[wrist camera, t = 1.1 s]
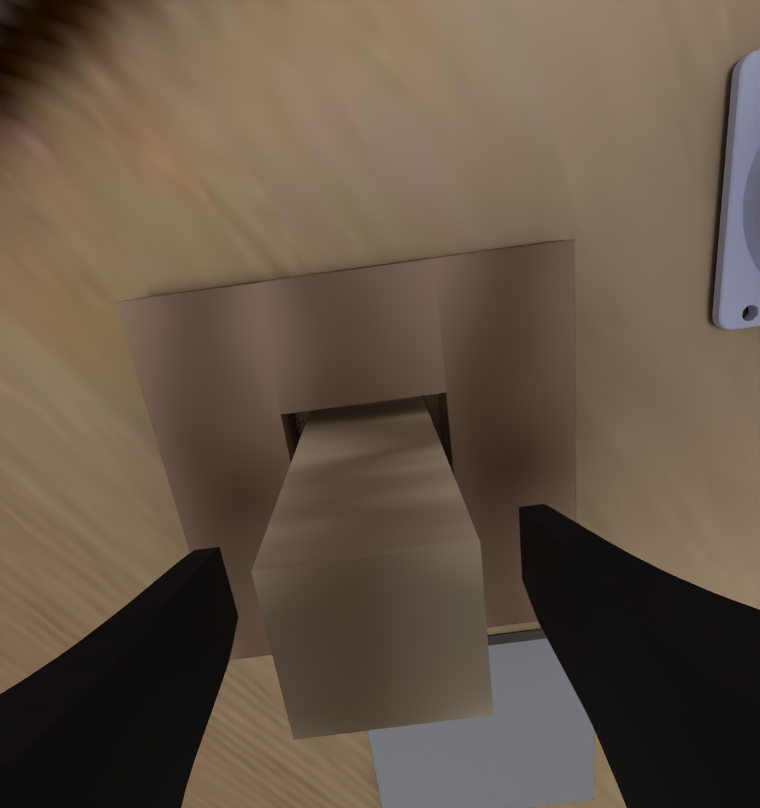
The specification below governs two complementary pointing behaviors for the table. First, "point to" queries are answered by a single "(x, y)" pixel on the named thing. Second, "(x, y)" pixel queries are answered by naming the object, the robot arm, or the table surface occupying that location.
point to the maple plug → (373, 577)
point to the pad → (496, 741)
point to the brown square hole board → (366, 394)
